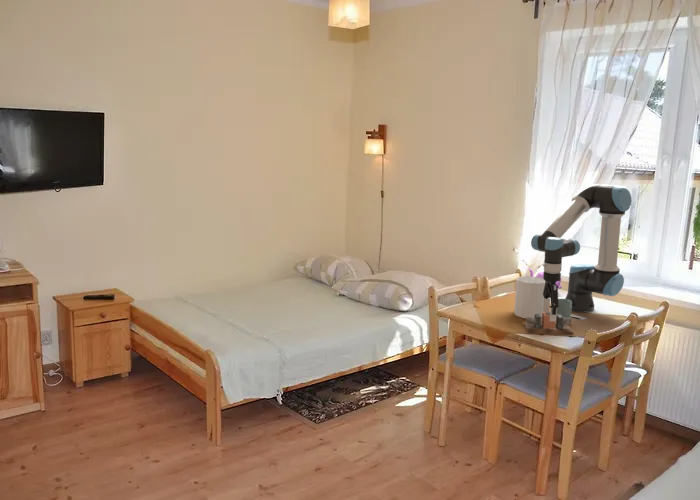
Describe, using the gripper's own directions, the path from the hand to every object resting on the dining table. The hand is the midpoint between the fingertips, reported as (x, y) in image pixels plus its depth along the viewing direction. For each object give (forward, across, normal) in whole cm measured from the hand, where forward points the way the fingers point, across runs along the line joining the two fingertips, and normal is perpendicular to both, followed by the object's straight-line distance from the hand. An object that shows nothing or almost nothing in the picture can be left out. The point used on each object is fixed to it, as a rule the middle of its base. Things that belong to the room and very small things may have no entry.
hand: (549, 316), depth 282 cm
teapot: (+8, -71, +13) cm, 72 cm away
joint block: (+5, 0, 0) cm, 5 cm away
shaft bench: (+6, 0, 0) cm, 6 cm away
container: (+7, -23, -4) cm, 24 cm away
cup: (+7, -15, +10) cm, 19 cm away
